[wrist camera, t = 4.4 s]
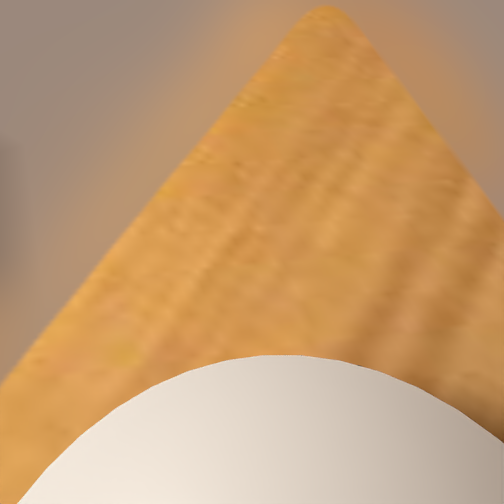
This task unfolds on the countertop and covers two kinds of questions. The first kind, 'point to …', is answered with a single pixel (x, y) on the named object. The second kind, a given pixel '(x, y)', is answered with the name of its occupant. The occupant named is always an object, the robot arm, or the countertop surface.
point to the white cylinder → (279, 442)
